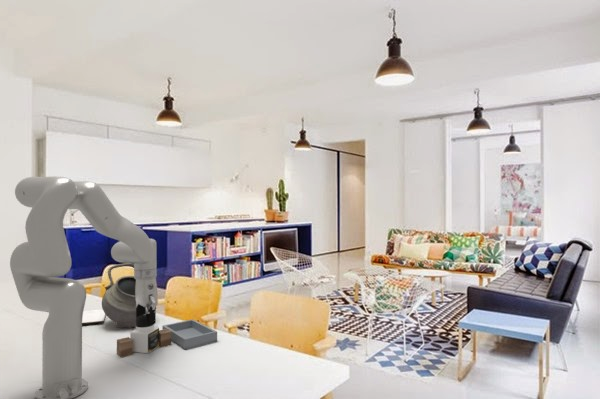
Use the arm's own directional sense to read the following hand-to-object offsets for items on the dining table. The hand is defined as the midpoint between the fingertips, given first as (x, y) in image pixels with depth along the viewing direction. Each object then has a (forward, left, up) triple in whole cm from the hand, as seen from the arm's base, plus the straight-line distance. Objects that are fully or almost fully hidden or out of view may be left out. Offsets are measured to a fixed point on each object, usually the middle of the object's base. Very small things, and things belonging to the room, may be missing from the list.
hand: (145, 320), depth 144 cm
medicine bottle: (0, 0, -10) cm, 10 cm away
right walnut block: (0, -7, -10) cm, 12 cm away
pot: (+33, -5, -10) cm, 35 cm away
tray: (0, -17, -10) cm, 19 cm away
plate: (+51, +9, -11) cm, 53 cm away
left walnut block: (0, +7, -10) cm, 12 cm away
